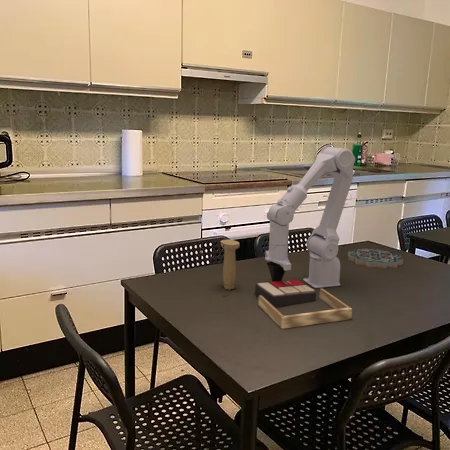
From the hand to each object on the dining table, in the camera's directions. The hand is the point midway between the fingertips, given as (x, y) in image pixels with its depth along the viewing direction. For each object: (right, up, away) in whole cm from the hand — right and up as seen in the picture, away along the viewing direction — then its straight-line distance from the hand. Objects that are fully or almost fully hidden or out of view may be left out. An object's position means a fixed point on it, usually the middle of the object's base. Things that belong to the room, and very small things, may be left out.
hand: (276, 285), depth 143 cm
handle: (-15, -1, 0) cm, 15 cm away
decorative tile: (+41, +5, +33) cm, 53 cm away
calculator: (+2, -3, -6) cm, 7 cm away
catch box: (+5, -5, -15) cm, 17 cm away
